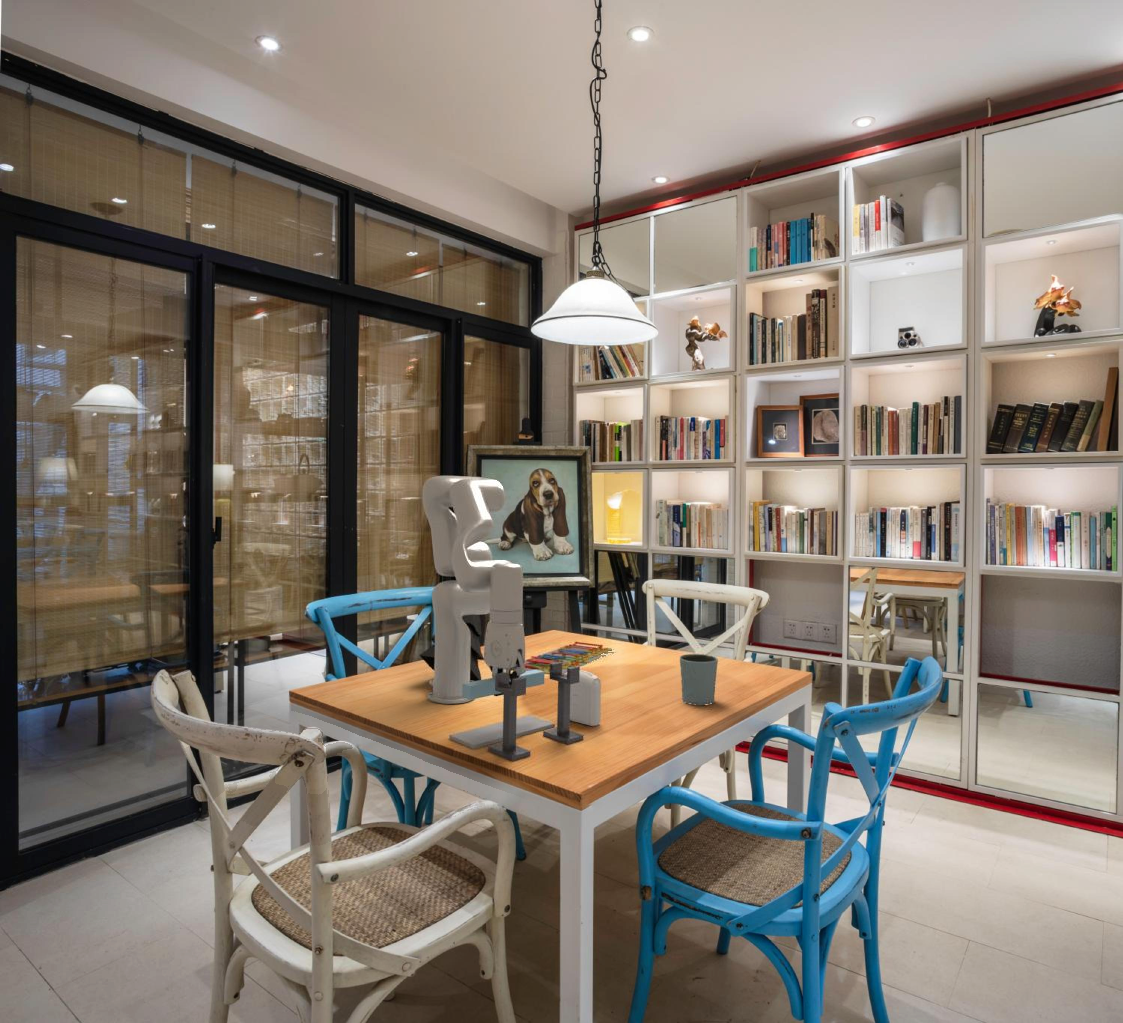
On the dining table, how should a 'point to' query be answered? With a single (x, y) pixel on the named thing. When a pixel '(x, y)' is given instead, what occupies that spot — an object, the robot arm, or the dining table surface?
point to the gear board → (566, 657)
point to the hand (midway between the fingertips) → (504, 696)
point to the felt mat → (499, 732)
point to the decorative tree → (475, 650)
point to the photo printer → (586, 699)
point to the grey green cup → (698, 678)
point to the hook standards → (511, 692)
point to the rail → (488, 685)
